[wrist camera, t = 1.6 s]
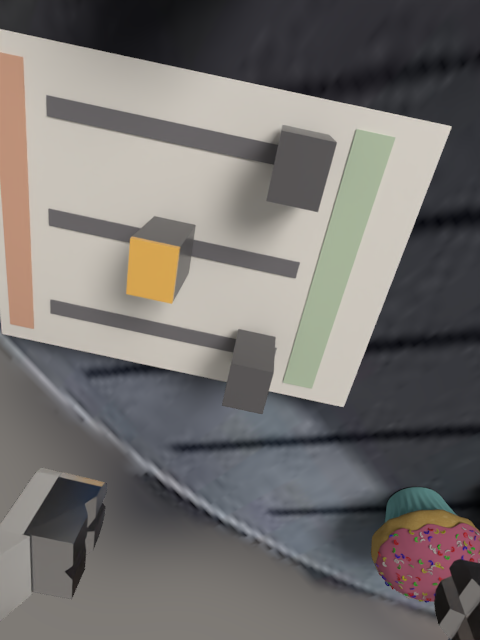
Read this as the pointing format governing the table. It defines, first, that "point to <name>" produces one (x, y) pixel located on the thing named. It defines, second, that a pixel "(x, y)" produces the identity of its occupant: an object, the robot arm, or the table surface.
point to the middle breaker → (159, 259)
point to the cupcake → (421, 542)
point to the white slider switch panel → (196, 214)
